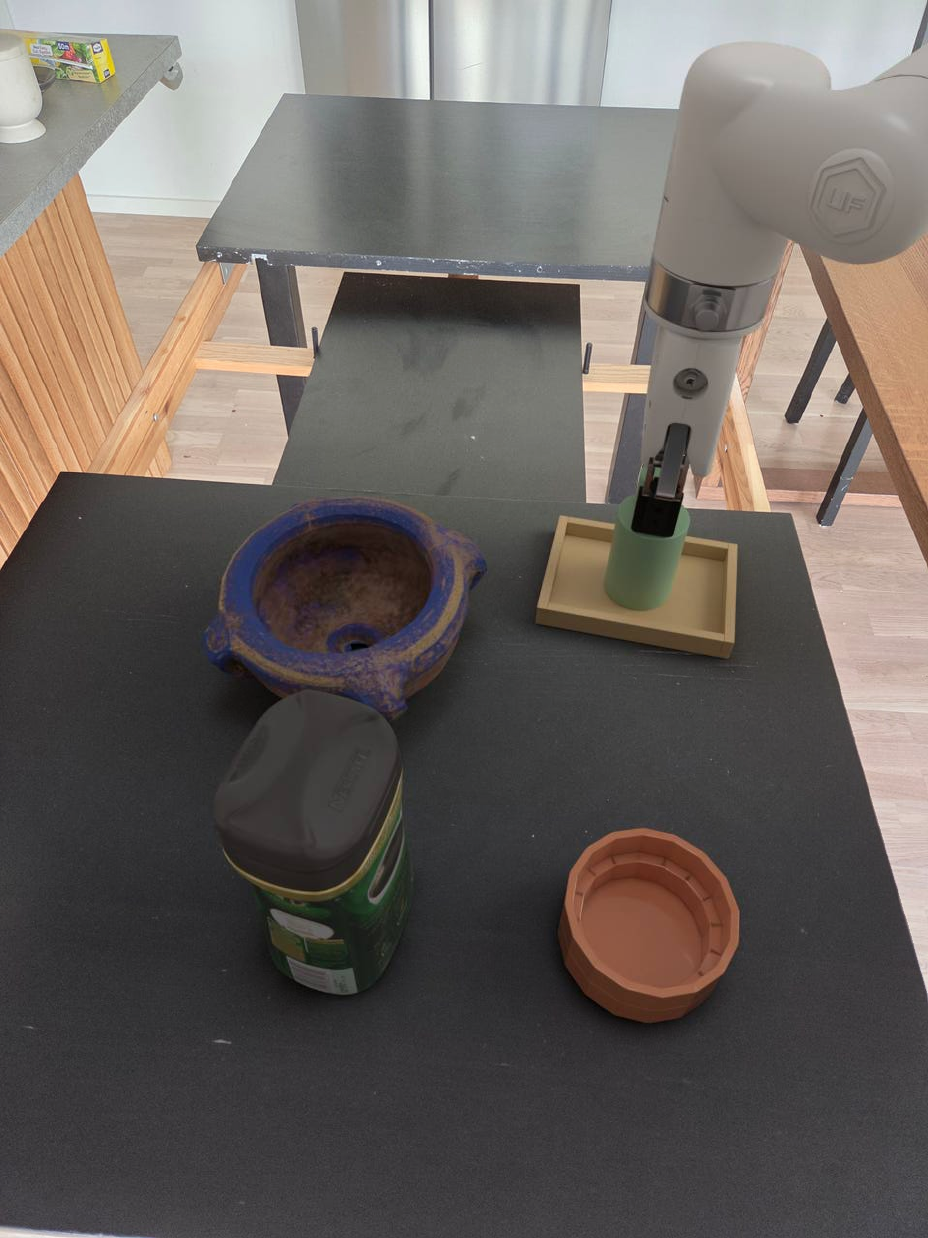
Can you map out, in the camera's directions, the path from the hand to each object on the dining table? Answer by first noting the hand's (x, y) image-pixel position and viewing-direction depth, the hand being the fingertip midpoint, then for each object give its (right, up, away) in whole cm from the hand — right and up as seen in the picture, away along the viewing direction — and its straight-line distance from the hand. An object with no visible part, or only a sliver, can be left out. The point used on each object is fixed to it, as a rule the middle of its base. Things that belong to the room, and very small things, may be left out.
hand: (654, 511), depth 65 cm
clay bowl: (-4, -28, -13) cm, 32 cm away
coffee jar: (-22, -27, -13) cm, 37 cm away
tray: (0, -6, +7) cm, 9 cm away
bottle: (0, -6, +6) cm, 8 cm away
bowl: (-23, -12, +1) cm, 26 cm away
